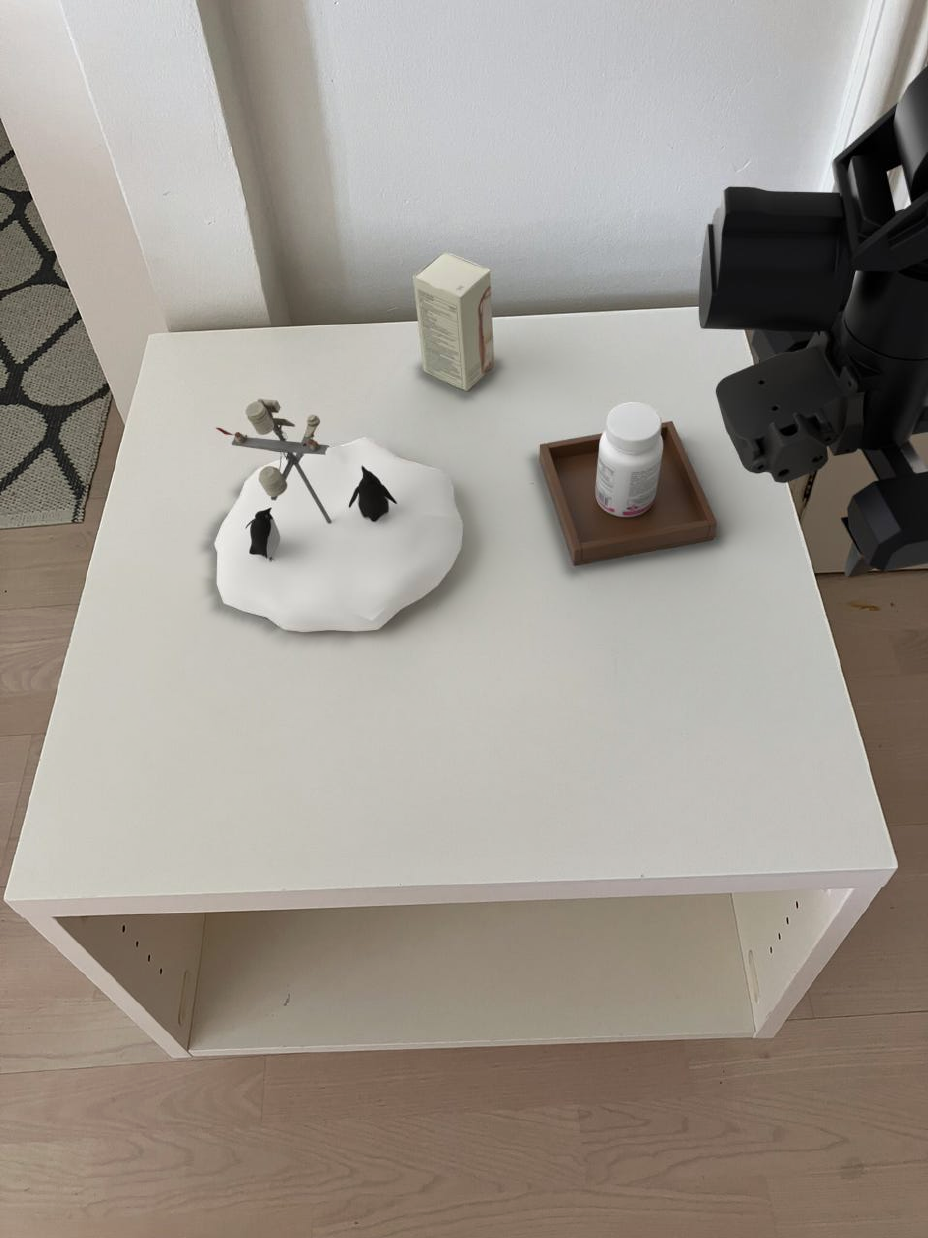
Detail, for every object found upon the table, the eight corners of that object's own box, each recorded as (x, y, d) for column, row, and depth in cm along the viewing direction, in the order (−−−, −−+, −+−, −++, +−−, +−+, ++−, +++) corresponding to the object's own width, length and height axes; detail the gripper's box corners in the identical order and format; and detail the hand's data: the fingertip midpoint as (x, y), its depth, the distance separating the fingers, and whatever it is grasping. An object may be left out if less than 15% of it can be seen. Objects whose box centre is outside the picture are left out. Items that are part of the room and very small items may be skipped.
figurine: (465, 442, 84) (432, 283, 71) (464, 629, 74) (425, 486, 61) (233, 463, 87) (158, 314, 73) (202, 647, 77) (108, 514, 63)
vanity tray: (669, 436, 85) (672, 420, 84) (713, 539, 79) (717, 524, 78) (539, 459, 84) (539, 443, 83) (573, 565, 78) (574, 550, 77)
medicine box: (496, 364, 91) (494, 270, 83) (466, 393, 89) (461, 299, 81) (450, 342, 93) (443, 247, 84) (420, 370, 91) (410, 276, 83)
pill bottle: (659, 479, 82) (672, 403, 75) (649, 524, 80) (661, 449, 73) (601, 469, 83) (608, 392, 76) (589, 513, 81) (596, 438, 74)
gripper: (690, 235, 56) (657, 434, 69) (821, 486, 46) (754, 664, 59) (881, 204, 57) (813, 406, 70) (1053, 443, 47) (935, 628, 60)
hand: (823, 517), depth 65 cm, fingers open, 9 cm apart
